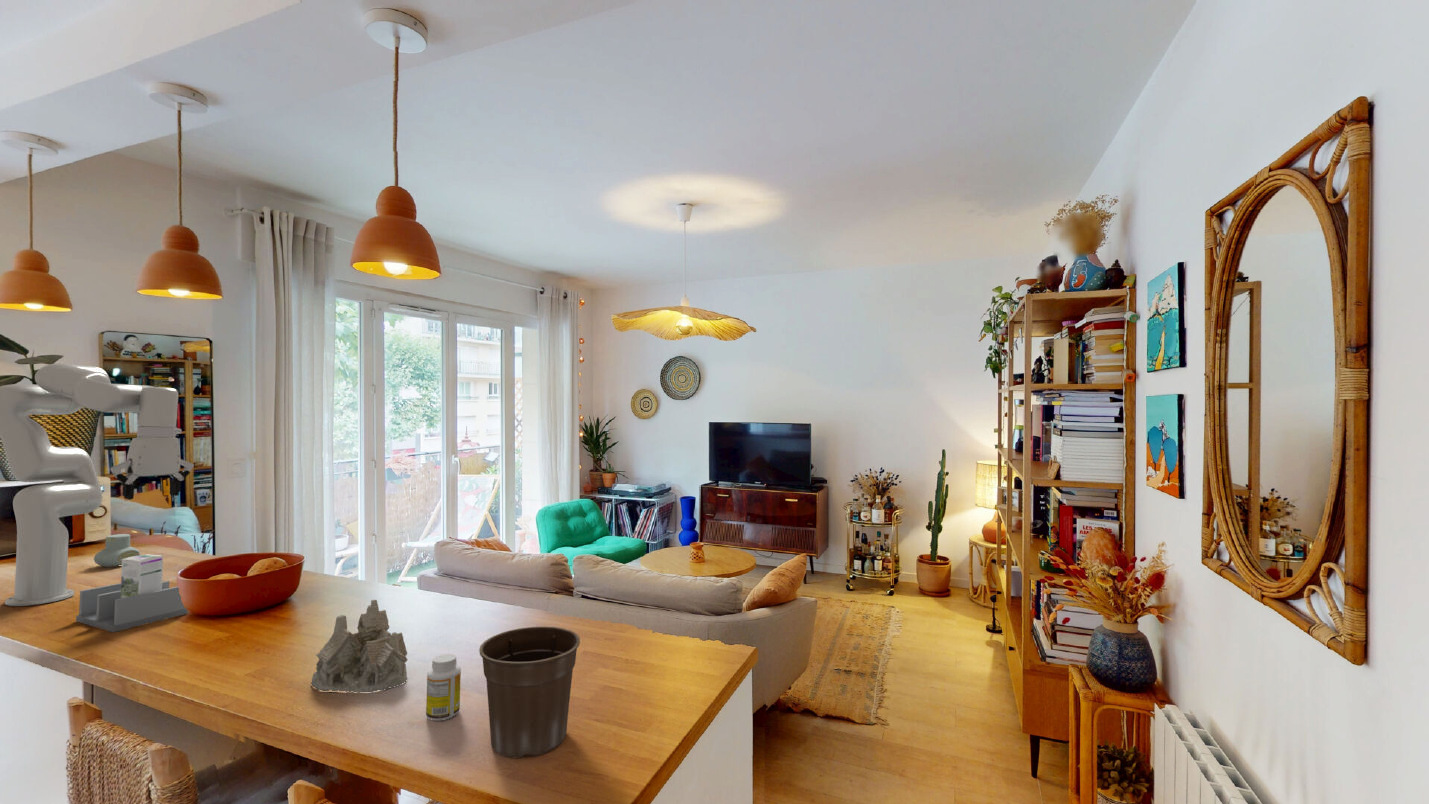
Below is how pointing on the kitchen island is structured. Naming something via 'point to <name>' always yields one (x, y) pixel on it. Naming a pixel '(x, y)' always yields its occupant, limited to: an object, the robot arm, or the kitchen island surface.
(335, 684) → the ceramic cottage
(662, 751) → the kitchen island surface
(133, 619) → the slot rack
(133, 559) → the syrup box
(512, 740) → the plant pot
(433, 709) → the supplement bottle
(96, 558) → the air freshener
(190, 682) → the kitchen island surface
